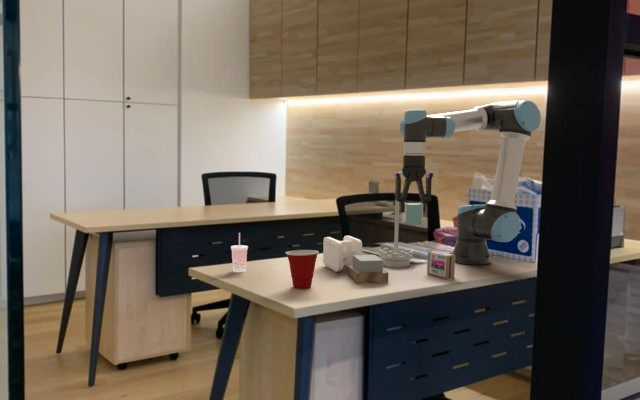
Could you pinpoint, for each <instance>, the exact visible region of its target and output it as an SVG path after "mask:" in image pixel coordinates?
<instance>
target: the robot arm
mask: <svg viewBox="0 0 640 400" xmlns="http://www.w3.org/2000/svg"><path fill="white" fill-rule="evenodd" d="M541 117H542V116H541V112H540V109H539V108H538V105H537V104H536V103H535V102H533V101H531V100H529V99H528V100H525V99H523V100H522V99H518V100H505V101H496V102H492V103H489V104H484V105H477V106H475V107H473V108H472V109H468V110H461V111H452V112H445V113H444V112H443V113H437V114H428V113H427V110H426V109H406V111H405V112H404V117H403V119H402V120H401V121H400V124H399V131H400V133H401V135H402V136H403V154H404V155H403V157H402V169H401V171H398V172H395V173H394V178H395V187H394V189H395V193H394V201H398V202H400V205H399V213H400V212H401V213H402V221H401V222H402V223H403V222H407V203H408V202H406V200H407V198H408V194H409V189H410V186H411V184H412V183H413V182H416V183H415V184H416V186H417V187H416V188H417V190H418V196H419V200H420V202H418V203H419V204H422V223H423V221H424V220H423V219H424V217H423V215H424V213H426V206H427V203H429V202H431V201H432V180H433V177H434V173H433V172H429V171H427V170H426V156H425V154H426V151H427V150H426V144H427V143H426V142H427V138H433V139H438V138H439V139H446V138H450V137H452V136H453V135H454V133H456V132H461V131H462V132H463V131H469V130H475V131H478V132H480V131H494V132H498V133H499V134H498V135H500V137H501V144H500V149H499V153H498V159H497V165H496V170H495V176H494V181H493V185H492V190H491V196H490V200H488V201H487V202H486V203H484V204H482V203H481V204H464V205H463V204H462V205H460V206H459V207H458V209H457V214H456V217H457V218H456V242H455V245H454V248H453V250H452V253H451V254H452V255H456V258H455V263H456V264H462V265H471V266H472V265H474V266H479V265H487V264H490V263H491V255H490V251H489V249H488V245H487V240H491V241H495V242H498V243H499V242H500V243H501V242H502V243H508V242H510V241H513V239H515V238H516V237H517V236H518V234H519V233H520V231H521V226H522V221H521V218H520V215H518V214H517V211H518V209H517V208H518V207H516V205H515V198H516V193H517V187H518V183H519V178H520V172H521V167H522V161H523V158H524V157H523V156H524V151H525V146H526V142H527V141H529V140H530V139H531V136H532V132H535V131H537V129H538V128H539V126H540V125H541V120H542V119H541ZM403 177H404V178H405V179H404V185H403V187H402V178H403ZM423 177H425V188H424V185H423ZM424 189H425V190H424ZM401 191H402V192H401ZM400 198H401V199H400Z"/></svg>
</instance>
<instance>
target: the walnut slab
mask: <svg viewBox="0 0 640 400" xmlns="http://www.w3.org/2000/svg"><path fill="white" fill-rule="evenodd" d="M347 276H348V277H349V278H350V279H351V280H352V282H354V283H355V284H356V285H362V284H363V285H364V284H366V285H367V284H388V283H389V272H388V271H387V270H385V269H384V268H383V272H365V273H360V272H359V271H358V270H356V269H355V268H354V267H353V266H347Z"/></svg>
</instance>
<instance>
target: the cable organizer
mask: <svg viewBox="0 0 640 400" xmlns="http://www.w3.org/2000/svg"><path fill="white" fill-rule="evenodd" d="M322 246H323V248H322V249H323V251H322V252H323V253H322V255H323V256H322V257H323V259H322V261H323V262H322V263H323V265H324V266H326V268H327V269H330V270H332V271H333V272H335V273H339V272H342V271H343V269H344V268H345V266H347V267H348V266H353V255H363V242H362V240H361V239H359V238H357V237H354V236H351V235H344V237H343V239H342V240H338V239H335V238H333V237H331V236H326V237H325V236H324V237H323V245H322Z"/></svg>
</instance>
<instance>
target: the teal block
mask: <svg viewBox="0 0 640 400" xmlns="http://www.w3.org/2000/svg"><path fill="white" fill-rule="evenodd" d="M406 203H407V222H403V221H402V224H405V225H408V226H417V225H420V226H422V224H423V222H422V204H419V203H420V202H406Z"/></svg>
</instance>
